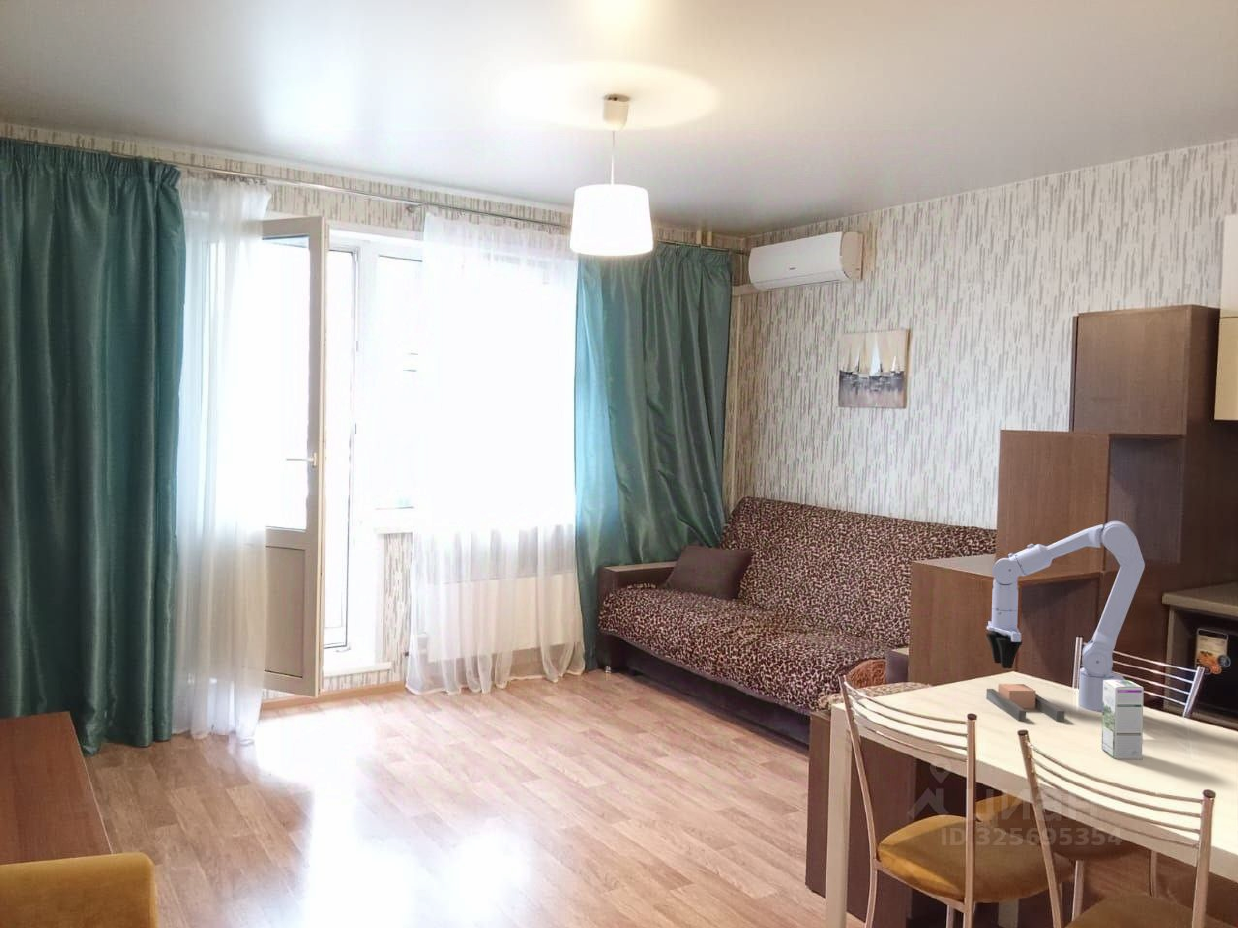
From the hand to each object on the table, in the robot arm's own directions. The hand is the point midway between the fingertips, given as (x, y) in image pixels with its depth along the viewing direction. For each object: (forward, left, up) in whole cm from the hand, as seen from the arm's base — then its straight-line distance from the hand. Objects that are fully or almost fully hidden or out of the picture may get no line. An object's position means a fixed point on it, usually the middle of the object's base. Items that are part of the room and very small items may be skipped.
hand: (1003, 665), depth 236 cm
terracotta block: (0, +8, -7) cm, 11 cm away
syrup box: (-8, +39, -9) cm, 41 cm away
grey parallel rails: (0, +12, -8) cm, 15 cm away
